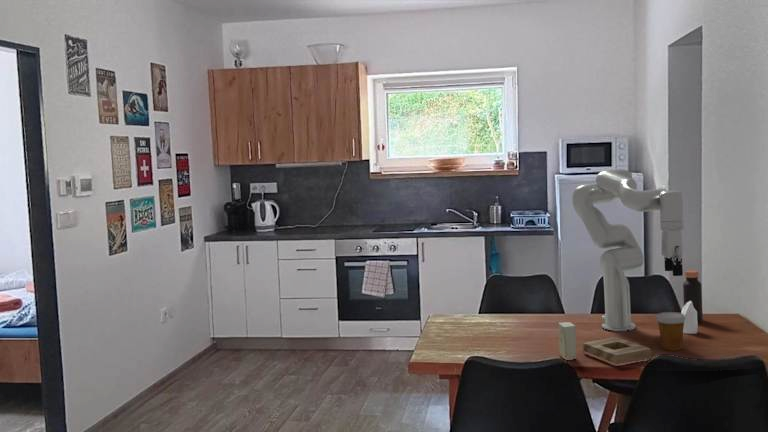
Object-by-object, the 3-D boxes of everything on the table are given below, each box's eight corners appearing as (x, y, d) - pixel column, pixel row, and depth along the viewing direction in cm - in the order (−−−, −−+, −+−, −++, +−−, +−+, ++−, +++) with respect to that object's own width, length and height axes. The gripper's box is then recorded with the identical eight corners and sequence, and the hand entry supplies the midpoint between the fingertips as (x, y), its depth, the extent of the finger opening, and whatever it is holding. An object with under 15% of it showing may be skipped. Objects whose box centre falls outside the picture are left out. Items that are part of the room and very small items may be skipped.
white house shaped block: (676, 300, 273) (689, 298, 275) (678, 331, 274) (690, 329, 276) (688, 303, 268) (700, 301, 269) (689, 334, 269) (701, 332, 270)
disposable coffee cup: (683, 353, 247) (682, 318, 246) (654, 350, 252) (653, 317, 251) (688, 345, 255) (687, 312, 254) (660, 343, 260) (659, 311, 259)
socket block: (583, 354, 254) (583, 343, 254) (616, 347, 259) (616, 336, 258) (616, 367, 237) (615, 355, 237) (650, 360, 242) (650, 348, 241)
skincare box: (559, 356, 254) (557, 322, 253) (571, 355, 254) (569, 321, 253) (565, 361, 247) (563, 326, 246) (577, 360, 248) (576, 325, 247)
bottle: (680, 320, 290) (678, 271, 288) (693, 317, 292) (691, 269, 291) (693, 323, 283) (692, 273, 282) (706, 320, 286) (704, 271, 284)
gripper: (654, 223, 263) (656, 269, 265) (667, 229, 246) (669, 278, 247) (675, 222, 262) (677, 268, 264) (690, 227, 245) (692, 277, 247)
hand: (673, 273), depth 256 cm, fingers open, 9 cm apart
